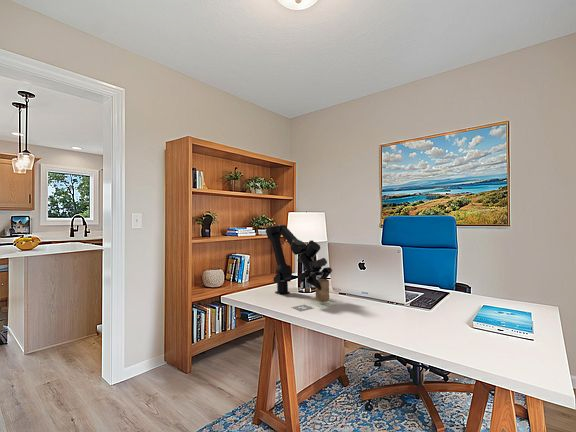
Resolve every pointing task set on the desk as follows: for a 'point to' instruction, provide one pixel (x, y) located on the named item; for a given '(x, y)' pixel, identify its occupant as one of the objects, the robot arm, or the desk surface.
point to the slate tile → (302, 308)
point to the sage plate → (322, 304)
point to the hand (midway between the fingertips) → (324, 288)
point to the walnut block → (322, 291)
